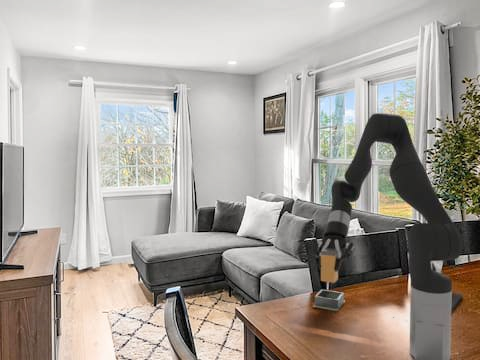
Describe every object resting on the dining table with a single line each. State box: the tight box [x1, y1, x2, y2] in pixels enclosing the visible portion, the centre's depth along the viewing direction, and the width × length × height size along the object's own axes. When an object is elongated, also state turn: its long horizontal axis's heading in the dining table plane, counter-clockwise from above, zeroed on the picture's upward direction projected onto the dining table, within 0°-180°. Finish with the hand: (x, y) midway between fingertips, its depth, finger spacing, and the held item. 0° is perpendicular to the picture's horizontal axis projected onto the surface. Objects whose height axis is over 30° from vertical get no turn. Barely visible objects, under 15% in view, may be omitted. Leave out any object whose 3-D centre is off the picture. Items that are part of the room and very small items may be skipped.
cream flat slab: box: [312, 299, 346, 312], centre depth 132 cm, size 10×8×1 cm
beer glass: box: [431, 261, 444, 273], centre depth 151 cm, size 7×7×15 cm
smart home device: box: [451, 292, 463, 313], centre depth 134 cm, size 8×2×20 cm
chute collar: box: [314, 289, 345, 310], centre depth 132 cm, size 8×8×3 cm
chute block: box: [320, 248, 339, 284], centre depth 131 cm, size 4×4×10 cm
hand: (327, 269), depth 130 cm, fingers closed on chute block, 4 cm apart
